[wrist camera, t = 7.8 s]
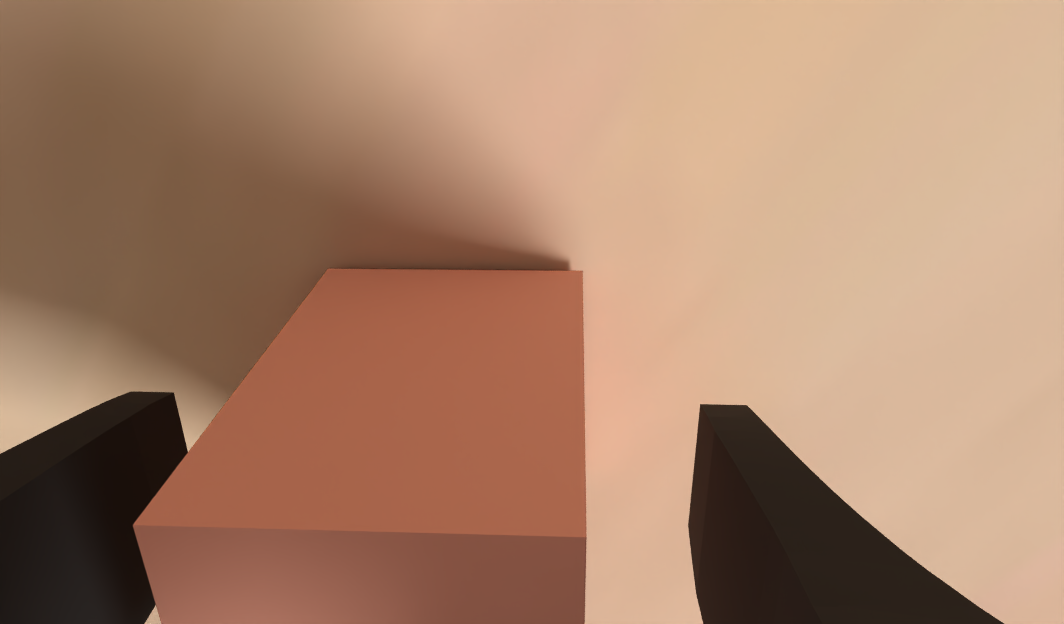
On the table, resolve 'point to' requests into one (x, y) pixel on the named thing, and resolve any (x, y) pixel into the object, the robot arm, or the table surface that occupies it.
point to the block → (390, 462)
